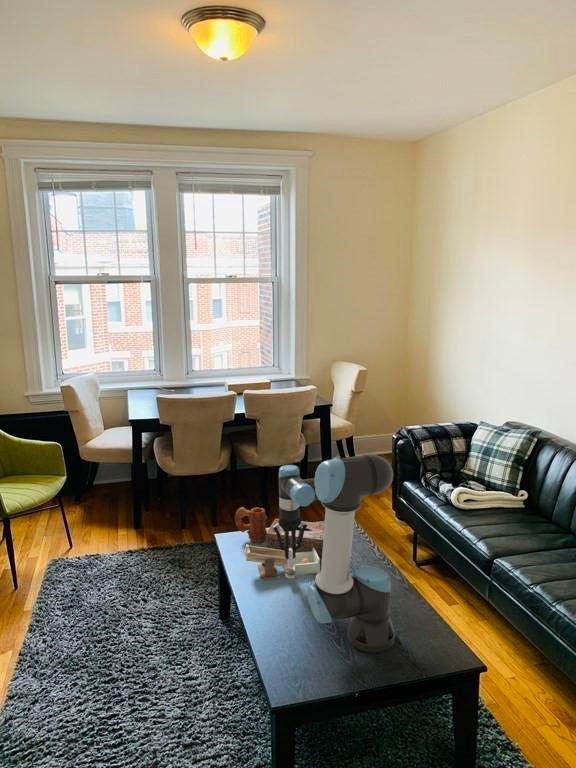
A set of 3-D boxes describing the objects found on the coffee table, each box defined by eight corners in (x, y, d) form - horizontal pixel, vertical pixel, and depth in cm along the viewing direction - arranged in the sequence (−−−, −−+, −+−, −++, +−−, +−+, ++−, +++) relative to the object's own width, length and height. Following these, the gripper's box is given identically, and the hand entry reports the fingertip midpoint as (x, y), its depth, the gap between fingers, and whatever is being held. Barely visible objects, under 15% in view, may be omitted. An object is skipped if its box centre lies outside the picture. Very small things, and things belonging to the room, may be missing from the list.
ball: (304, 570, 222) (312, 566, 222) (300, 563, 221) (308, 559, 221) (302, 566, 225) (310, 562, 226) (299, 559, 224) (306, 555, 225)
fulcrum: (278, 578, 217) (278, 561, 215) (260, 580, 216) (260, 562, 214) (274, 564, 227) (274, 548, 225) (257, 566, 226) (257, 549, 224)
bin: (319, 573, 220) (319, 559, 219) (293, 576, 218) (293, 562, 217) (314, 561, 229) (314, 547, 228) (288, 563, 227) (288, 550, 226)
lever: (295, 578, 210) (297, 570, 210) (248, 572, 206) (250, 563, 206) (287, 557, 225) (289, 550, 225) (244, 551, 221) (246, 543, 221)
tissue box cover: (266, 555, 235) (265, 533, 233) (275, 539, 249) (275, 518, 247) (326, 562, 228) (326, 540, 226) (333, 546, 242) (333, 524, 240)
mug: (269, 536, 251) (269, 504, 248) (267, 545, 243) (266, 512, 240) (237, 535, 252) (236, 503, 249) (234, 543, 244) (233, 511, 241)
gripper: (304, 501, 211) (305, 559, 216) (270, 504, 209) (271, 563, 213) (309, 509, 204) (309, 569, 208) (273, 512, 202) (274, 572, 206)
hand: (290, 566), depth 211 cm, fingers closed
